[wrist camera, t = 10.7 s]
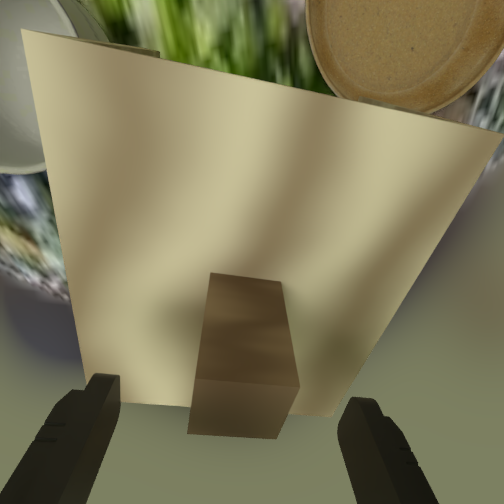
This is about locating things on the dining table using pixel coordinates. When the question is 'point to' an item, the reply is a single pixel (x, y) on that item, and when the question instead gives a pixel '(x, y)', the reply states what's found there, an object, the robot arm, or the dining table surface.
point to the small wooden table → (236, 226)
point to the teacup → (17, 75)
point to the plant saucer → (405, 48)
